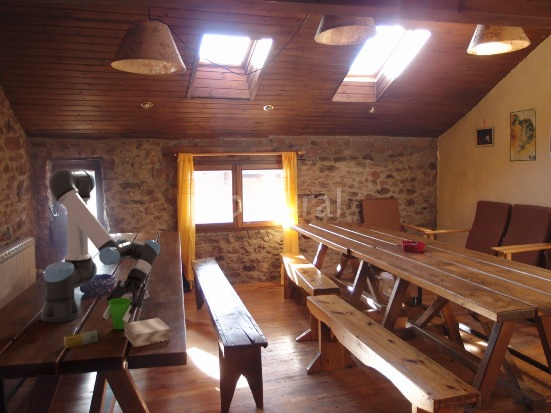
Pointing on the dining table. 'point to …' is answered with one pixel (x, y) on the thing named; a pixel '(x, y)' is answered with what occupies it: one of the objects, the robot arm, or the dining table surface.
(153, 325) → the birch block
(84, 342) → the medication box
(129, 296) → the dog bowl
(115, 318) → the cup
